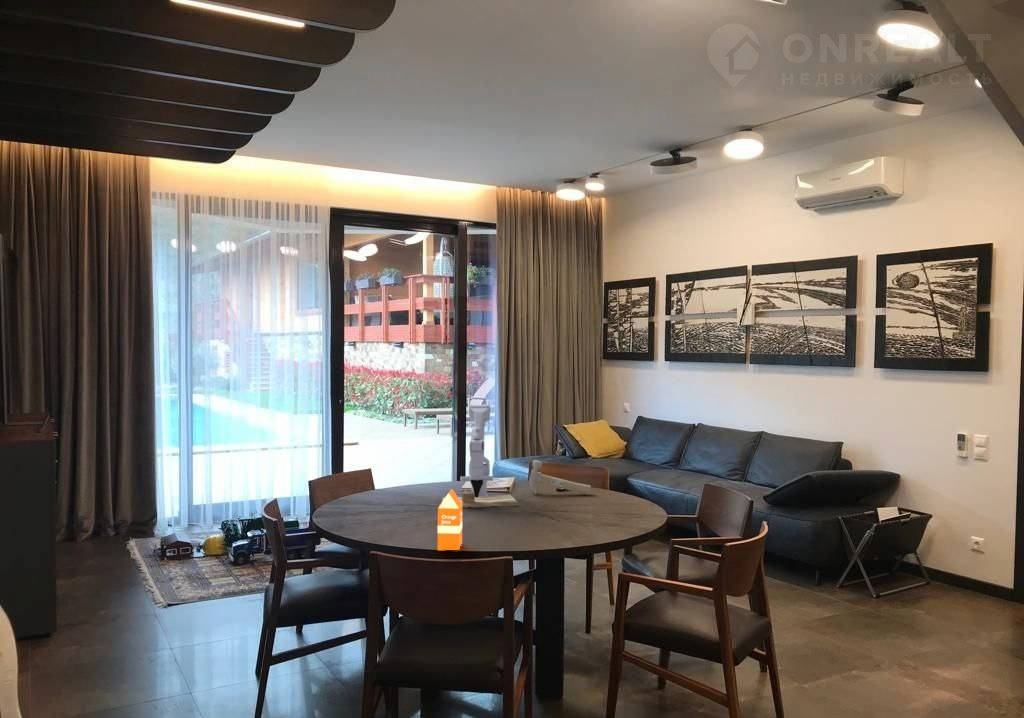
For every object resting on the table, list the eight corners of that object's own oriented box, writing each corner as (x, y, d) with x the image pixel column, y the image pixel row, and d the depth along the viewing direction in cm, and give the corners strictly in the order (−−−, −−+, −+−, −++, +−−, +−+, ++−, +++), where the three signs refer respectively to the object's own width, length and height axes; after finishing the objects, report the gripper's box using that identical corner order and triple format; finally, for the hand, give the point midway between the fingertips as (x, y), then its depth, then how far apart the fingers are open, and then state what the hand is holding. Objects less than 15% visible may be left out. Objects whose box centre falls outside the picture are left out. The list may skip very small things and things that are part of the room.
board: (442, 501, 323) (442, 497, 323) (510, 499, 330) (510, 494, 330) (445, 508, 309) (445, 503, 309) (516, 505, 316) (517, 501, 316)
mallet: (460, 498, 322) (460, 489, 322) (470, 497, 323) (471, 488, 323) (463, 502, 311) (463, 493, 311) (474, 502, 312) (474, 493, 312)
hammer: (593, 474, 344) (533, 459, 347) (593, 476, 340) (533, 460, 342) (585, 505, 345) (526, 490, 347) (585, 507, 340) (525, 491, 342)
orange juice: (462, 544, 252) (462, 488, 251) (459, 550, 243) (459, 493, 243) (440, 543, 252) (441, 487, 252) (436, 550, 243) (437, 492, 243)
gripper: (462, 468, 310) (461, 499, 310) (494, 467, 313) (494, 498, 313) (459, 466, 316) (459, 496, 316) (491, 465, 320) (491, 495, 320)
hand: (476, 497), depth 315 cm, fingers closed
